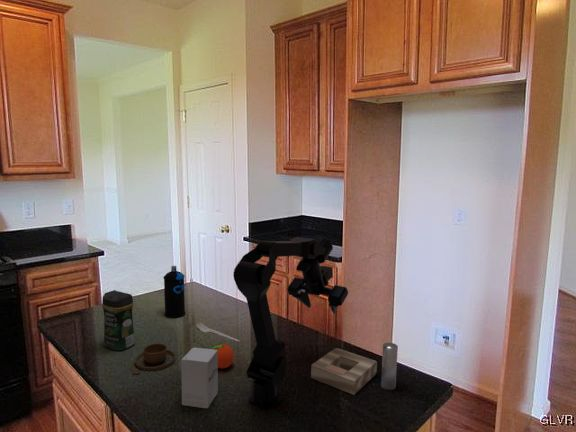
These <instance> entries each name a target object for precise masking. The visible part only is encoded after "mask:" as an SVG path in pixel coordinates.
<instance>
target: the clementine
mask: <svg viewBox="0 0 576 432" xmlns="http://www.w3.org/2000/svg"><path fill="white" fill-rule="evenodd" d="M210 349H214V350H218V369H226V368H228V367H230V366H231V364H232V363H233V361H234V357H235V354H234V350H233V349H232V348H231V347H230V345H227V344H225V343H224V344H223V343H222V344H218V345H215V346H213V347H211V348H210Z"/></svg>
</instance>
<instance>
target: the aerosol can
mask: <svg viewBox="0 0 576 432" xmlns="http://www.w3.org/2000/svg"><path fill="white" fill-rule="evenodd" d="M170 269H171V270H170V271H169V272H167V273H165V275H164V276H163V277H162V278H163V282H164V283H163V285H164V286H163V287H164V288H163V289H164V290H163V291H164V294H163V295H164V317H166V318H167V319H179V318H182V317H184V316H185V315H186V309H185V308H186V304H185V303H186V301H185V300H186V299H185V277H186V276H185V274H183V273H182V272H181V271H178V270H177V265H171V268H170Z"/></svg>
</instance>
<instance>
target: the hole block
mask: <svg viewBox="0 0 576 432" xmlns="http://www.w3.org/2000/svg"><path fill="white" fill-rule="evenodd" d="M310 367H311V368H310V369H311V370H310V373H311V374H310V379H313V380H315V381H318V382H319V383H323V384H326V385H328V386H330V387H333V388H336V389H337V390H338V389H339V390H340V391H343V392H346V393H348V394H351V395H353V396H355V395H356V393H358V392H359V391H360V390H361V389H362V388H363V387H364V386H366V384H367V383H369V381H370V380H371V379H373V378H374V377H375V376H376V375H377V371H378V370H377V368H378V361H376V360H374V359H371V358H368V357H366V356H363V355H359V354H356V353H354V352H349V351H347V350H345V349H341V348H338V347H334V349H332V350H331V351H329V352H328V353H326V354H325V355H324V356H322V357H321V358H319V359H318V360H316V361H315V362H313V363H312V364H311V366H310Z"/></svg>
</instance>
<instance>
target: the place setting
mask: <svg viewBox="0 0 576 432" xmlns="http://www.w3.org/2000/svg"><path fill="white" fill-rule="evenodd" d="M167 348H168V347H167V345H166V344H163V343H151V344H149V345H146V346H145V347H144V348H143V349H142V350H143V352H142V353H140V354H139V355H137V357H135V359H134V363H135V366H136V367H137V368H138V369H140V370H143V371H150V372H151V371H159V370H162V369H166V368H167V367H170V366H171V365H172V364H173V363H174V362H175V360H176V354H175V352H173V351H172V350H170V349H167ZM167 356H170V357H171V358H172V360H170V361H169V362H167V363H164V364H162V365H159V364H160V363H162V362H163V361H164V360H165V359H166V357H167ZM142 359H144V361H145V362H147V363H148V364H150V365H158V366H143V365H141V364H139V362H140V360H142ZM127 369H129V370H130V371H131V373H132V374H133V375H139V374H140V370H138V369H133V368H132V367H127Z"/></svg>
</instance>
